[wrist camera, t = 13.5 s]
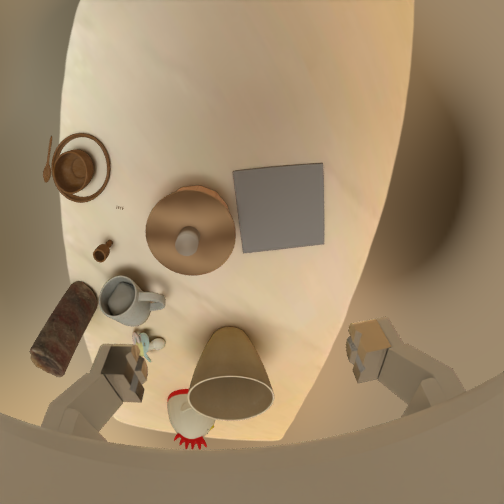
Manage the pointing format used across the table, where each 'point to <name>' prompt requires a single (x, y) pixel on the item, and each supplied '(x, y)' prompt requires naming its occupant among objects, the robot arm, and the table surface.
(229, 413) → the plant pot
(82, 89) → the table surface
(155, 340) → the pacifier
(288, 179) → the mat
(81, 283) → the brown textured cylinder
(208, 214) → the lid
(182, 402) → the kitchen timer
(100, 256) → the place setting
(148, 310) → the ceramic mug
